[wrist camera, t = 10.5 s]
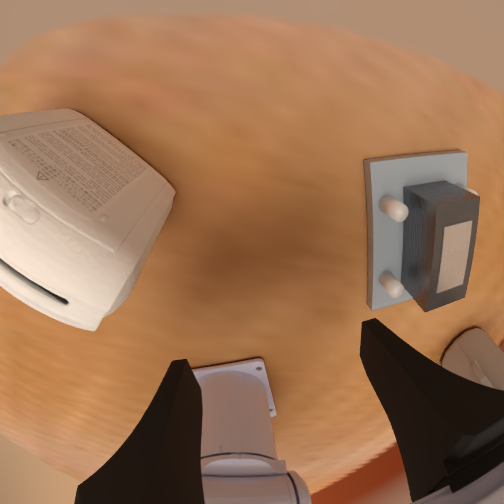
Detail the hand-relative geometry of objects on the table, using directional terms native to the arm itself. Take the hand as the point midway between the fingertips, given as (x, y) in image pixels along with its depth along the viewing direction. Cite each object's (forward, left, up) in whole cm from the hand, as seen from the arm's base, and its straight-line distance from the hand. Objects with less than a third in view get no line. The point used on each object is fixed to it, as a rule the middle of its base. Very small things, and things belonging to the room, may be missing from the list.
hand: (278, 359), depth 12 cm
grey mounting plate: (-1, -13, -10) cm, 17 cm away
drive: (-1, -13, -9) cm, 16 cm away
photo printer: (+8, +8, -11) cm, 15 cm away
